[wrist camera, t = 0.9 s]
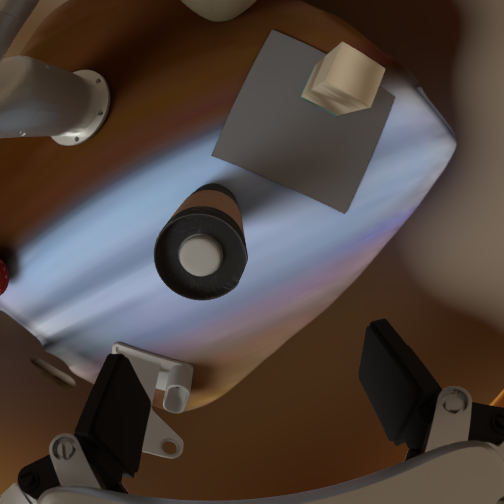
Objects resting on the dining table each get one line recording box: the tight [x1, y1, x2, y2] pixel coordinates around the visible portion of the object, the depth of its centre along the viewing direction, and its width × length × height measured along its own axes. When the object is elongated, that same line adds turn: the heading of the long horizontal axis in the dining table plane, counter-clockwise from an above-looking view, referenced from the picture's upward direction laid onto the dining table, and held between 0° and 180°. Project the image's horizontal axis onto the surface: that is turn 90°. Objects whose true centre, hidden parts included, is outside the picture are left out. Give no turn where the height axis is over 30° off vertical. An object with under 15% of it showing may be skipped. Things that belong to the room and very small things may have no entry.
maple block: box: [300, 42, 385, 116], centre depth 29 cm, size 6×6×11 cm
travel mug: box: [154, 184, 248, 300], centre depth 30 cm, size 8×8×20 cm
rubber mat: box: [211, 30, 395, 214], centre depth 36 cm, size 22×22×1 cm
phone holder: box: [112, 342, 194, 458], centre depth 42 cm, size 17×10×18 cm, turn 70°
